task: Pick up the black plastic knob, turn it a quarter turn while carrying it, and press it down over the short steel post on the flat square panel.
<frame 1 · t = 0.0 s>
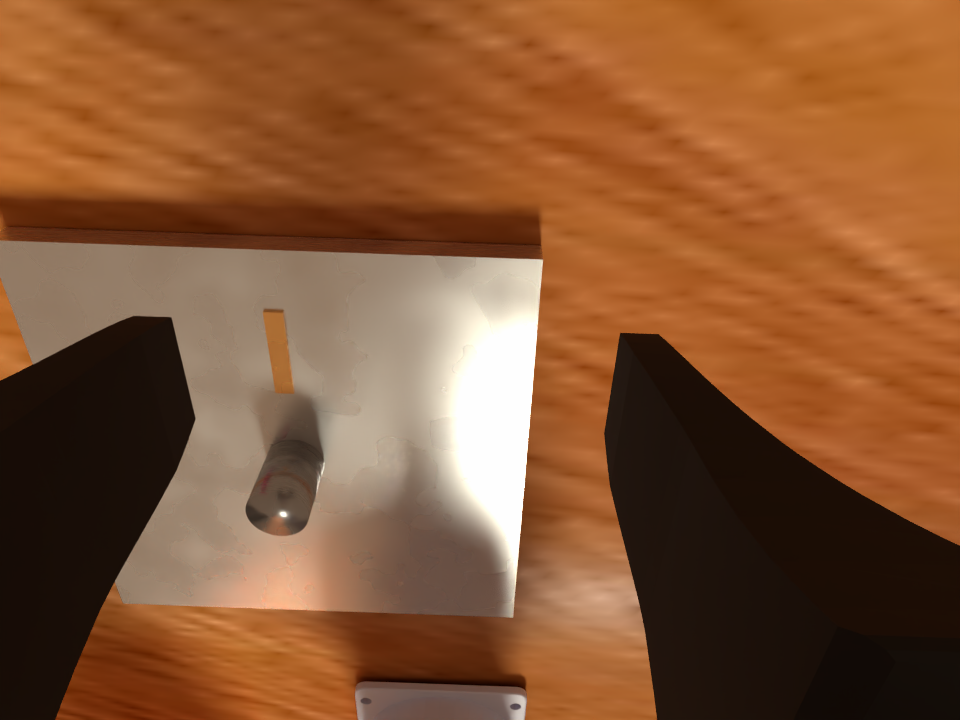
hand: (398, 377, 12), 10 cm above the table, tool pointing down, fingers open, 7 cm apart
flat square panel: (302, 443, 26), on the table
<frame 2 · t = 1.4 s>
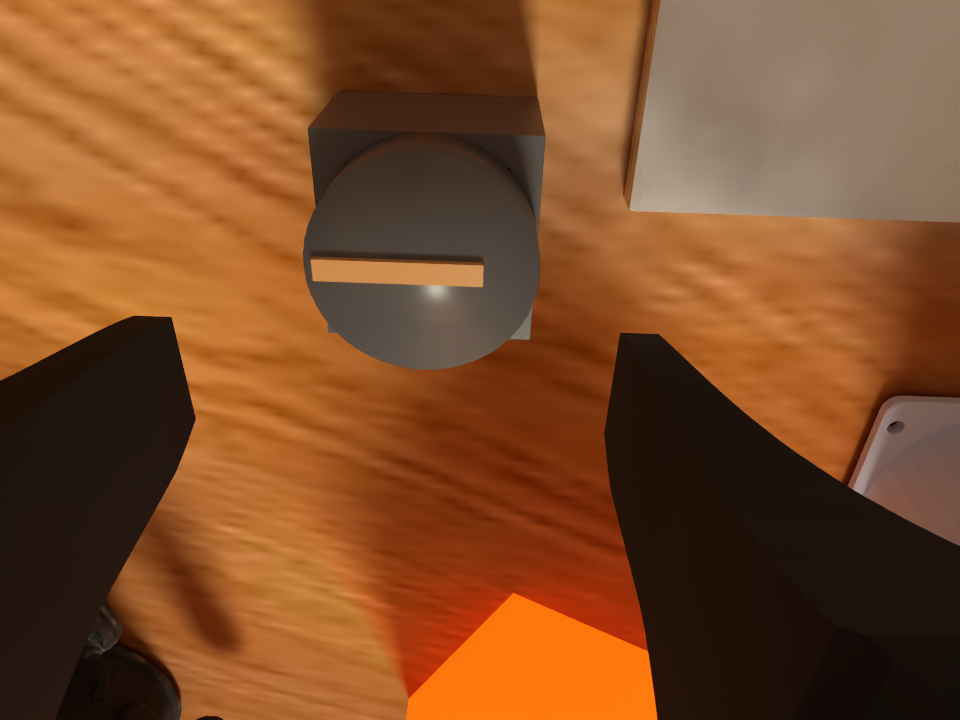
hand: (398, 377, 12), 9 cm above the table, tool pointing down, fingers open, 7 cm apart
milk frother: (66, 627, 30), on the table
knob: (438, 190, 19), on the table
orange juice: (531, 674, 31), on the table
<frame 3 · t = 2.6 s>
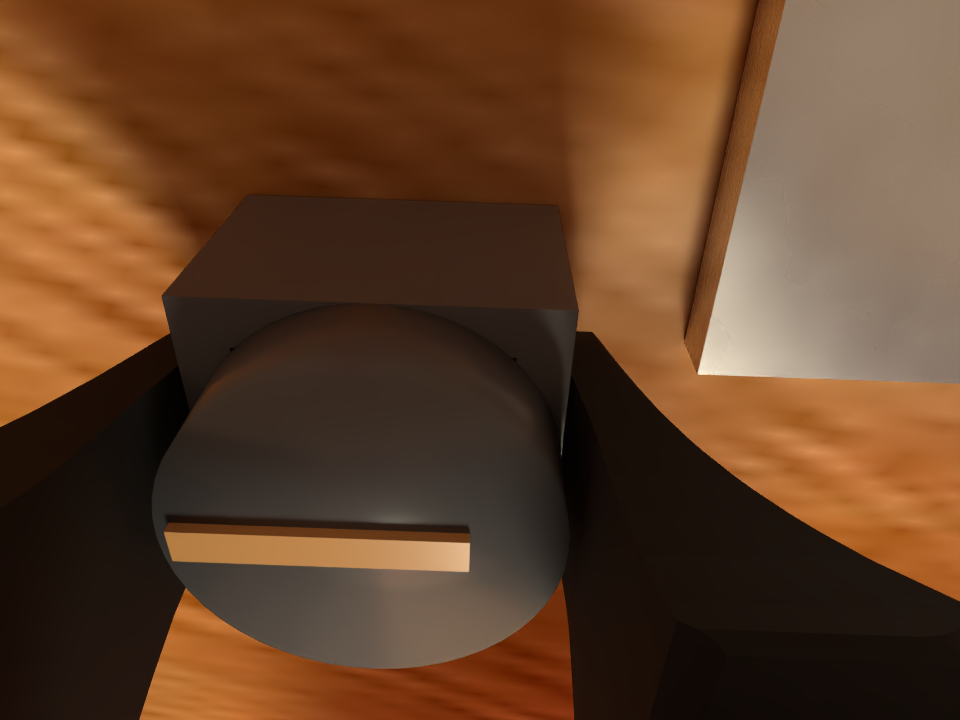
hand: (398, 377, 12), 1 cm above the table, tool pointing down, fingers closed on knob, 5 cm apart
knob: (407, 333, 13), on the table, touching gripper
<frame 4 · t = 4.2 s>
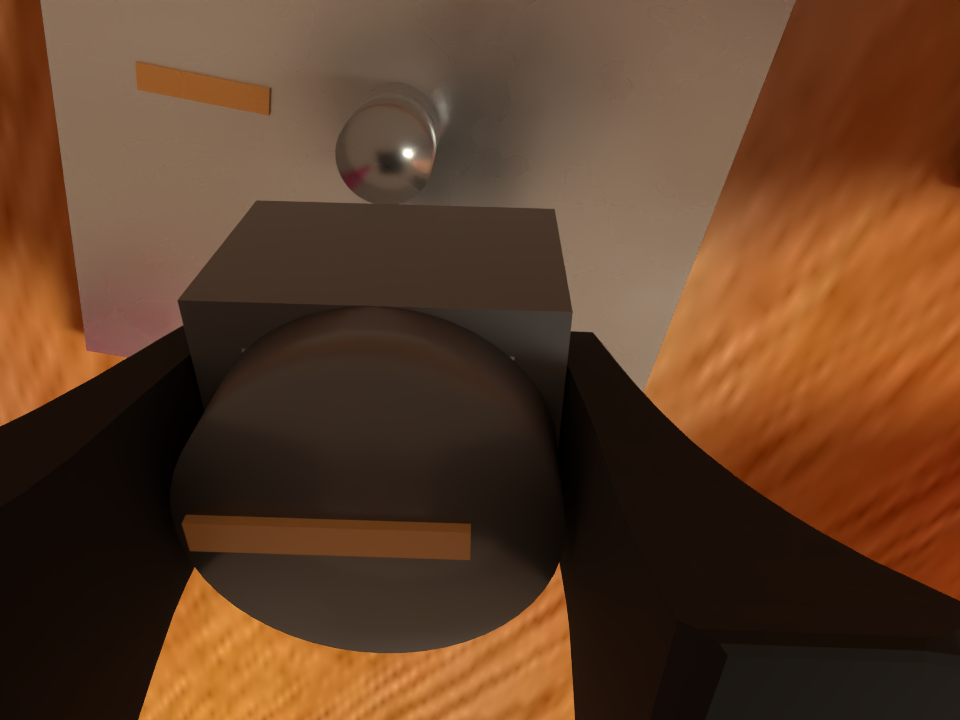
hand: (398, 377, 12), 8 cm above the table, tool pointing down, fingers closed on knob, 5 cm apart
knob: (410, 332, 13), point 7 cm above the table, touching gripper
flat square panel: (403, 116, 18), on the table
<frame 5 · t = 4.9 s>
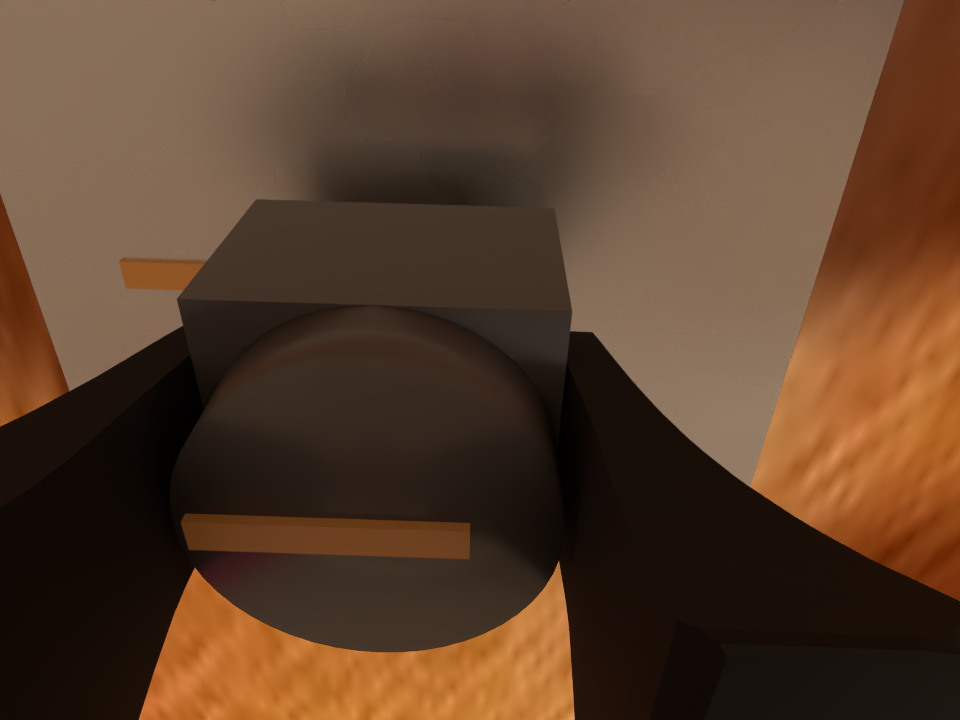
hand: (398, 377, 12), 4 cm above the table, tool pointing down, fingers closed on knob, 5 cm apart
knob: (409, 331, 13), point 3 cm above the table, touching gripper
flat square panel: (422, 262, 15), on the table
when the fingers open (3 cm above the table, at t = 5.7 s): knob stays where it is, resting on flat square panel.
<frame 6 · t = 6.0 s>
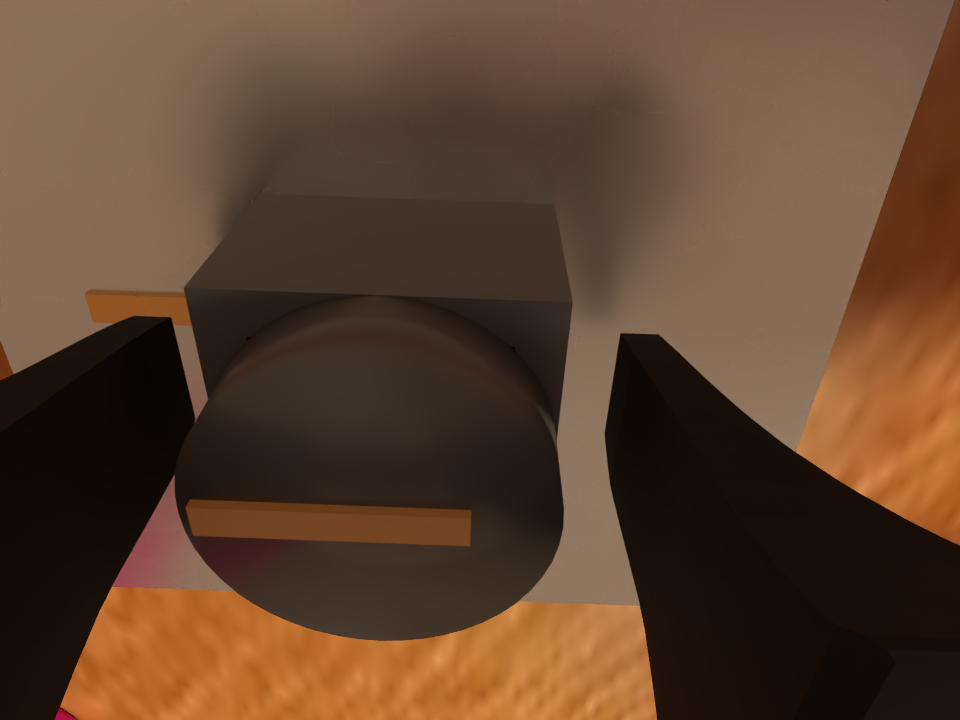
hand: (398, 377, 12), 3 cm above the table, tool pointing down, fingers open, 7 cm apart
knob: (410, 326, 13), point 1 cm above the table, touching flat square panel
flat square panel: (415, 292, 14), on the table
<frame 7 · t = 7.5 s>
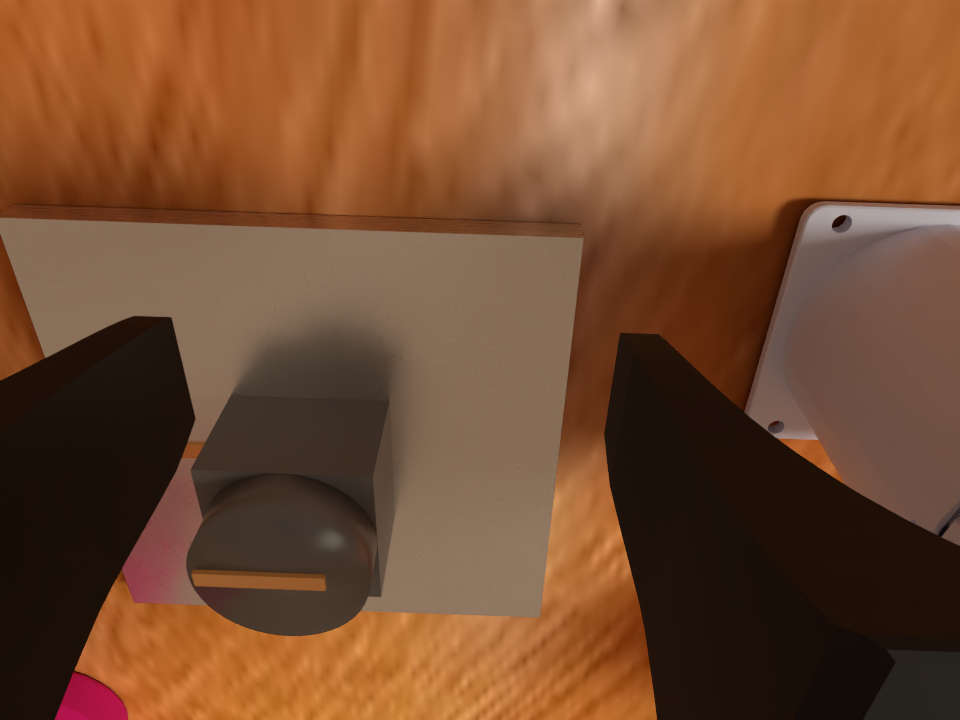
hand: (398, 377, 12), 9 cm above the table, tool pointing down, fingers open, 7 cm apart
knob: (317, 458, 24), point 1 cm above the table, touching flat square panel
flat square panel: (323, 435, 24), on the table
pepper mill: (64, 699, 34), on the table
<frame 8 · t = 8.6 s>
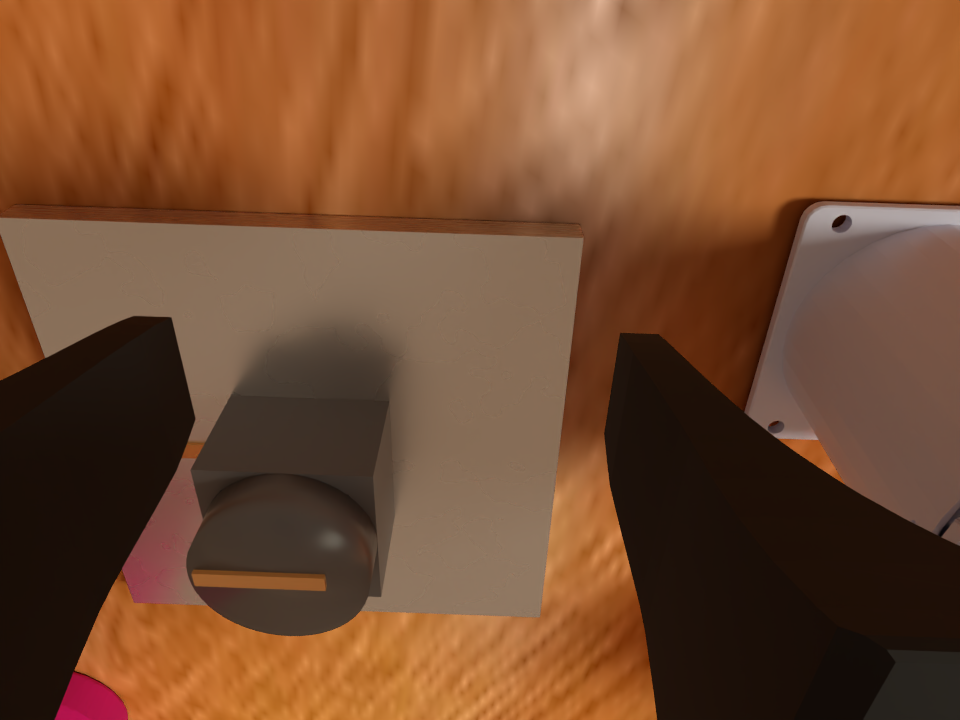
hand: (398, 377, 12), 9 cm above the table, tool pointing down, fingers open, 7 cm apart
knob: (317, 458, 24), point 1 cm above the table, touching flat square panel
flat square panel: (323, 435, 24), on the table
pepper mill: (64, 699, 34), on the table
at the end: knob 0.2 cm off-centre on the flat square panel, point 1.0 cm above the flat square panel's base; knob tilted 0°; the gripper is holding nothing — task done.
